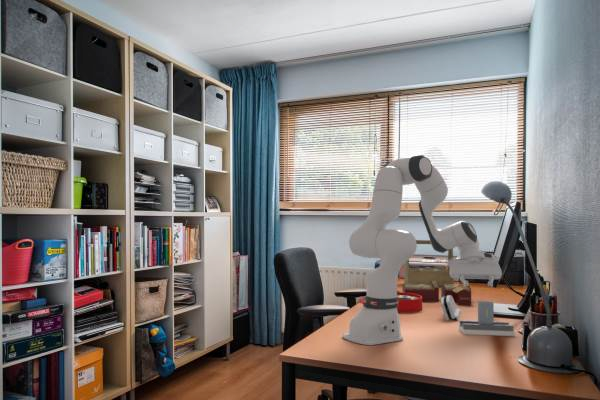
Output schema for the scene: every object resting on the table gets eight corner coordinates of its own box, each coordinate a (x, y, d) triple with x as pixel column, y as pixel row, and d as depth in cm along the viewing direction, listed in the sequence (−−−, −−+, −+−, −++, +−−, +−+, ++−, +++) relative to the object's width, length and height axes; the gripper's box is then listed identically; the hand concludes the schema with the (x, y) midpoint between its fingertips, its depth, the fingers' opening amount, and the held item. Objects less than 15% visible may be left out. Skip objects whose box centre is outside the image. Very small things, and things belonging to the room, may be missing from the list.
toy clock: (373, 297, 207) (387, 290, 224) (373, 309, 207) (387, 302, 224) (416, 301, 197) (426, 294, 214) (416, 314, 197) (426, 306, 214)
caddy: (449, 284, 285) (449, 238, 286) (454, 286, 274) (454, 238, 275) (404, 283, 286) (404, 237, 287) (407, 286, 276) (407, 238, 277)
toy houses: (464, 298, 237) (464, 279, 237) (477, 306, 216) (477, 285, 217) (380, 296, 240) (380, 277, 240) (385, 304, 220) (385, 283, 220)
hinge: (458, 321, 184) (450, 297, 186) (447, 323, 186) (439, 300, 188) (461, 313, 200) (453, 291, 201) (451, 315, 201) (443, 294, 203)
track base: (464, 334, 164) (464, 324, 164) (458, 328, 172) (458, 319, 172) (514, 336, 162) (514, 326, 162) (506, 330, 170) (506, 321, 170)
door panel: (480, 329, 166) (480, 302, 166) (478, 327, 168) (477, 301, 169) (493, 329, 165) (493, 302, 165) (491, 327, 168) (491, 301, 168)
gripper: (447, 253, 186) (453, 280, 176) (498, 254, 183) (506, 281, 173) (445, 263, 190) (450, 289, 180) (494, 264, 188) (502, 291, 178)
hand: (478, 285), depth 177 cm, fingers open, 8 cm apart
